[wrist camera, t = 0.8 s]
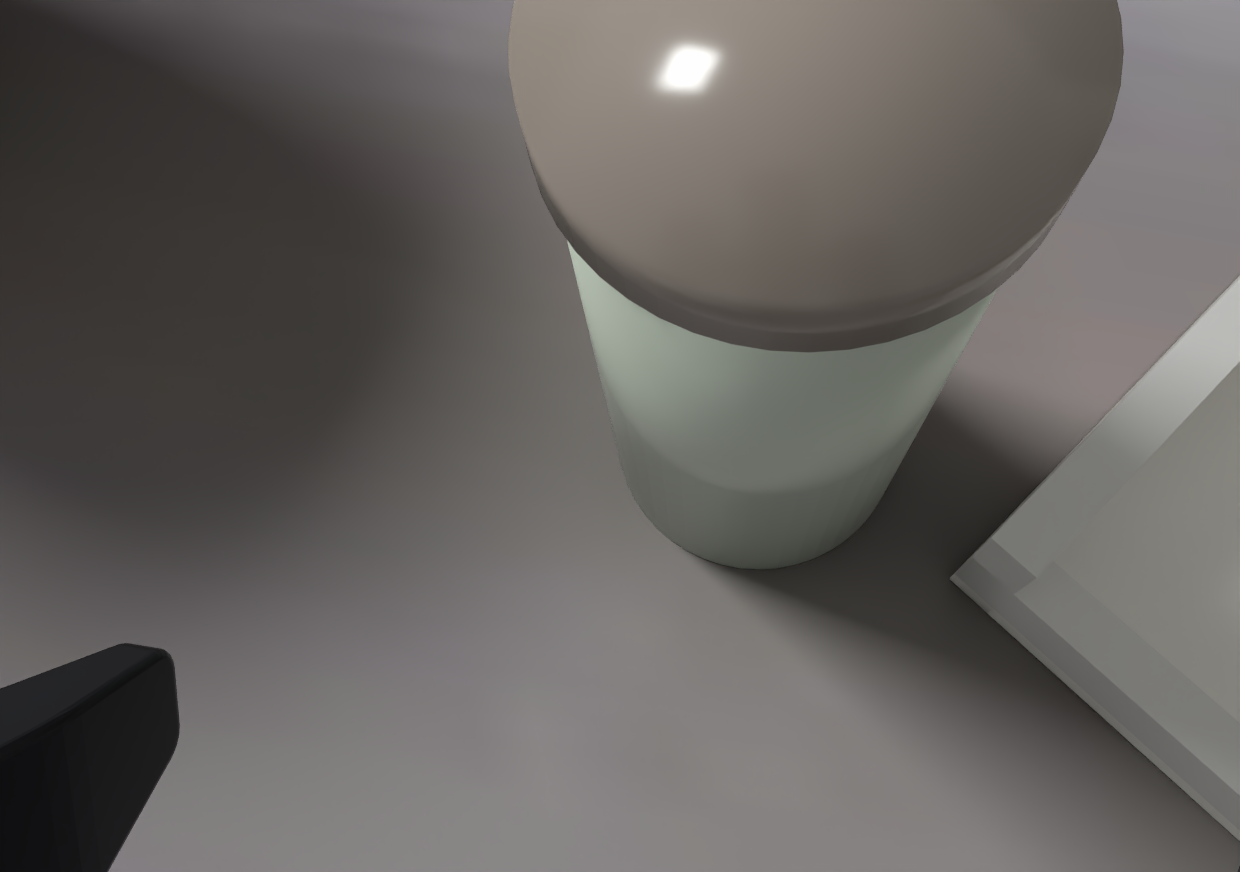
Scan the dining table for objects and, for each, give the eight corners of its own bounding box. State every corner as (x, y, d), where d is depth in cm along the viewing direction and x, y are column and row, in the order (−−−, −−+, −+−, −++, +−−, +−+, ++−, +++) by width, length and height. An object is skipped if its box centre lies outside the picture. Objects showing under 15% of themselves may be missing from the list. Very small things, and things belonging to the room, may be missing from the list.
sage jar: (759, 642, 22) (826, 433, 10) (548, 435, 24) (388, 42, 12) (967, 432, 23) (1254, 14, 11) (751, 249, 25) (794, -285, 13)
